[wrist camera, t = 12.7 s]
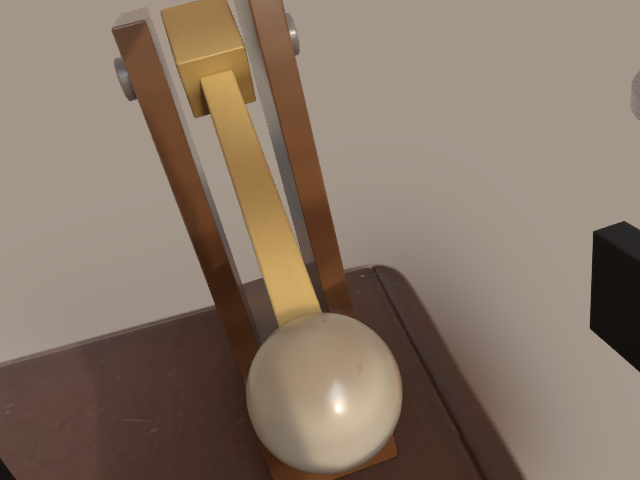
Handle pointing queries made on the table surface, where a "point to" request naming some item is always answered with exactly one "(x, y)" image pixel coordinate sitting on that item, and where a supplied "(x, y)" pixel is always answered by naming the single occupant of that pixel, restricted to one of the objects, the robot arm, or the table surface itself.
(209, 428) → the table surface
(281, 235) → the switch lever
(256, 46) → the switch bracket
